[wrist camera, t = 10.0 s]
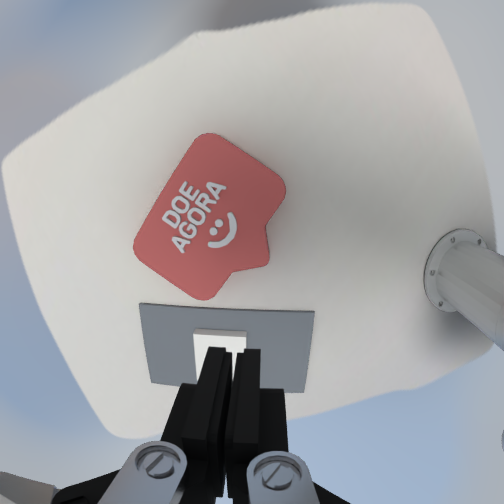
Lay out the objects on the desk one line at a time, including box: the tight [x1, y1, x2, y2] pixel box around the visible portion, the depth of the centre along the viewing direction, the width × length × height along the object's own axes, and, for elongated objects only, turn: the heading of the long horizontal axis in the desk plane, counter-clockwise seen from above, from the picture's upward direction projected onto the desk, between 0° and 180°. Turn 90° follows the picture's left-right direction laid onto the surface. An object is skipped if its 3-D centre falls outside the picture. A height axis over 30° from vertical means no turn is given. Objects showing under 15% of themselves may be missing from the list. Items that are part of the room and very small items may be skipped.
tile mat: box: [139, 303, 315, 393], centre depth 42 cm, size 24×14×1 cm, turn 89°
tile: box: [193, 328, 247, 381], centre depth 41 cm, size 2×8×7 cm
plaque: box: [133, 133, 286, 300], centre depth 36 cm, size 18×4×15 cm
